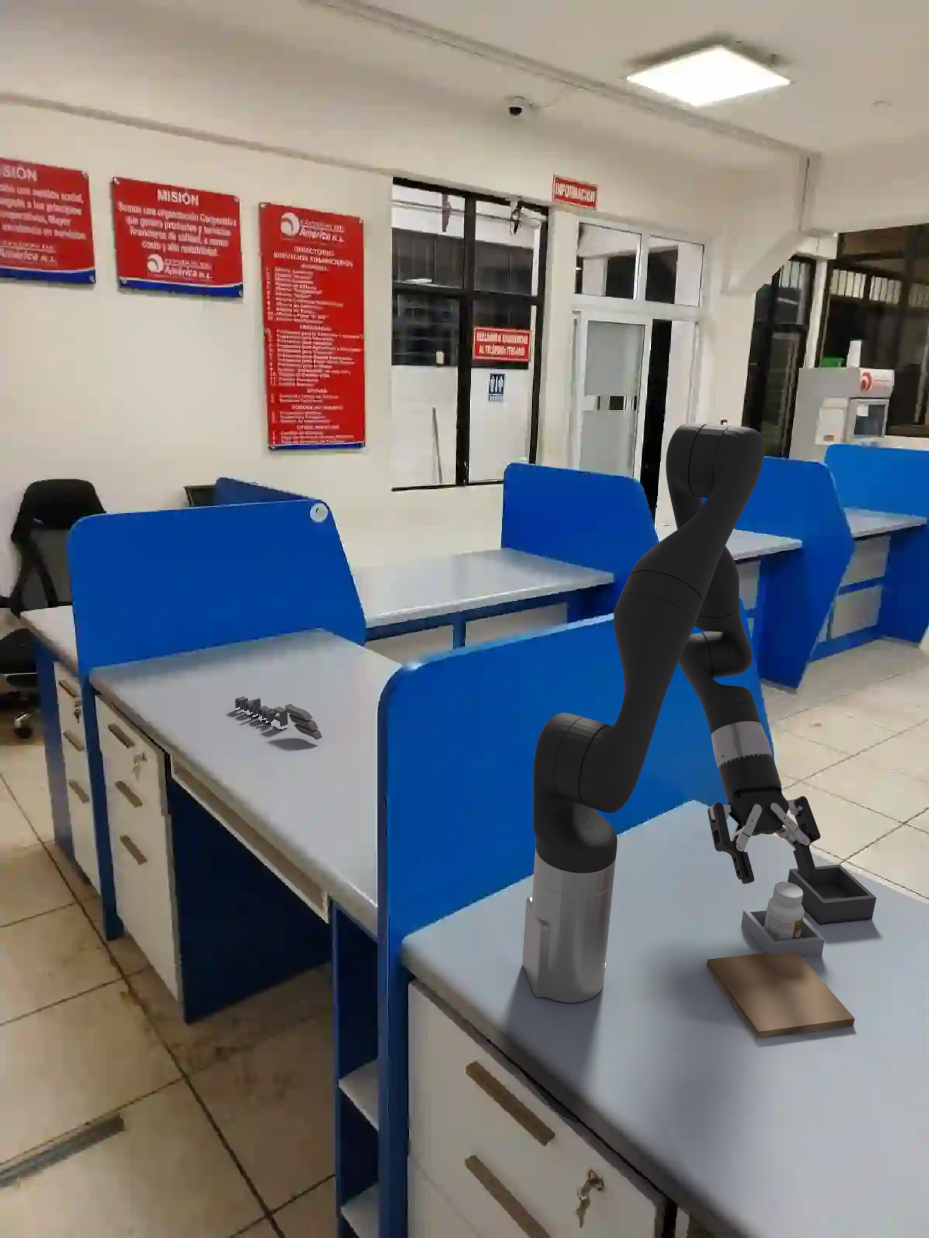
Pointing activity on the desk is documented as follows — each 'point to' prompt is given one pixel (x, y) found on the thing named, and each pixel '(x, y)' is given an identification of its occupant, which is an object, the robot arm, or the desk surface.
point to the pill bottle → (785, 912)
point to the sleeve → (805, 946)
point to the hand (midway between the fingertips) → (778, 879)
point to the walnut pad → (778, 994)
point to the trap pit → (834, 896)
